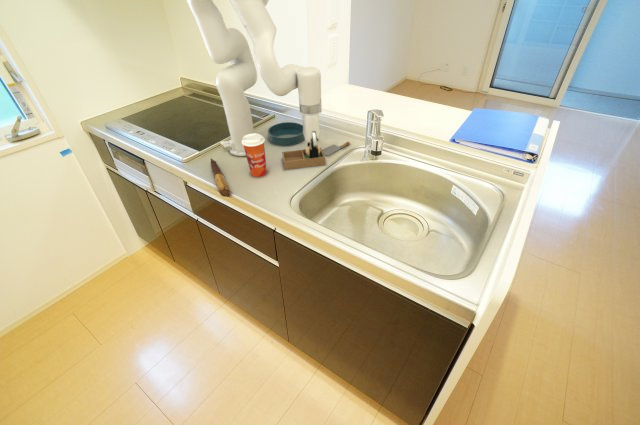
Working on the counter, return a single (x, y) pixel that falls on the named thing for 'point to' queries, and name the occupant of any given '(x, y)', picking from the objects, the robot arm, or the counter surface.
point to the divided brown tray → (301, 159)
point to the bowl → (286, 133)
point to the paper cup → (255, 154)
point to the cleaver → (333, 149)
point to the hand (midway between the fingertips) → (313, 154)
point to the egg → (309, 152)
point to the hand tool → (220, 180)
